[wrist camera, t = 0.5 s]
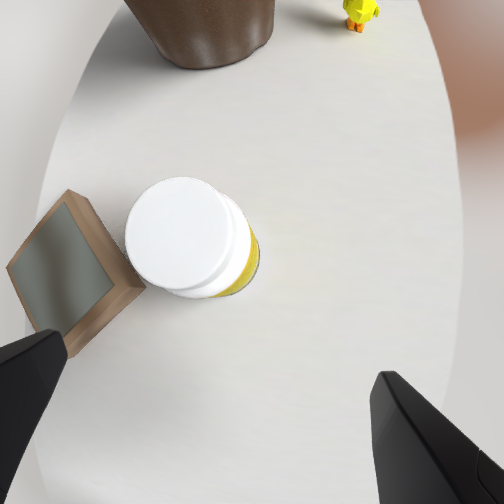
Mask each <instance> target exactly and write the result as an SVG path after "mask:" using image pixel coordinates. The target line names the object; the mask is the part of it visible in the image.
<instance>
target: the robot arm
mask: <svg viewBox="0 0 504 504" xmlns="http://www.w3.org/2000/svg"><path fill="white" fill-rule="evenodd" d="M67 359H68V351H67V348H66V346H65V343H64V340H63V337H62V334H61V333H60V332H59V331H58V330H54V329H51V328H48V329H45V330H43V331H40V332H38V333H35V334H33V335H30V336H28V337H25V338H23V339H20V340H18V341H15V342H13V343H10V344H8V345H5V346H3V347H0V504H4V502H5V499H6V497H7V493H8V490H9V488H10V485H11V483H12V480H13V478H14V476H15V473H16V471H17V468H18V466H19V464H20V461H21V458H22V456H23V454H24V452H25V450H26V447H27V446H28V443H29V441H30V439H31V437H32V435H33V433H34V431H35V429H36V427H37V424H38V422H39V420H40V418H41V416H42V414H43V412H44V410H45V409H46V407H47V405H48V403H49V401H50V399H51V397H52V394H53V392H54V390H55V387H56V385H57V382H58V380H59V377H60V375H61V373H62V370H63V368H64V366H65V364H66V361H67ZM370 412H371V430H372V449H373V457H374V464H375V470H376V477H377V485H378V493H379V501H380V504H504V470H503V469H502V468H501V467H500V466H499V465H497V464H496V463H495V462H494V461H493V460H492V459H490V458H489V457H488V456H487V455H486V454H485V453H484V452H483V451H482V450H479V447H477V446H476V445H475V444H474V443H473V442H472V441H471V440H470V439H469V438H468V437H467V436H466V435H464V434H463V433H462V432H461V431H460V430H459V429H458V428H457V427H456V426H455V425H454V424H453V423H451V422H450V421H449V420H448V419H447V418H446V417H445V416H444V415H443V414H442V413H441V412H439V411H438V410H437V409H436V408H435V407H434V406H433V405H432V404H431V403H430V402H429V401H427V400H426V399H425V398H424V397H423V396H422V395H421V394H420V393H419V392H418V391H417V390H415V389H414V388H413V387H412V386H411V385H410V384H409V383H408V382H407V381H406V380H404V379H403V378H402V377H401V376H400V375H399V374H398V373H397V372H395V371H381V372H380V373H379V374H378V376H377V378H376V381H375V384H374V386H373V389H372V391H371V394H370Z"/></svg>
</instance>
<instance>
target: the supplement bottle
mask: <svg viewBox="0 0 504 504" xmlns="http://www.w3.org/2000/svg"><path fill="white" fill-rule="evenodd" d="M125 245H126V250H127V254H128V257H129V259H130V261H131V263H132V265H133V267H134V268H135V269H136V271H137V272H138V273H139V274H140V275H141V276H142V277H143V278H144V279H146V280H147V281H148V282H150V283H152V284H154V285H156V286H158V287H161V288H163V289H164V290H166V291H168V292H170V293H172V294H174V295H176V296H179V297H184V298H191V299H203V298H211V297H223V296H229V295H232V294H235V293H237V292H239V291H241V290H242V289H244V288H245V287H246V286H247V285H248V284H249V283H250V282H251V281H252V279H253V278H254V276H255V274H256V272H257V269H258V266H259V260H260V250H259V245H258V242H257V240H256V238H255V236H254V234H253V232H252V229H251V227H250V225H249V223H248V221H247V219H246V217H245V215H244V214H243V212H242V211H241V209H240V208H239V207H238V206H237V204H236V203H235V202H233V201H232V200H231V199H230V198H229V197H227V196H226V195H224V194H222V193H220V192H218V191H216V190H215V189H214V188H213V187H211V186H210V185H209V184H207V183H205V182H203V181H201V180H198V179H195V178H191V177H173V178H168V179H165V180H162V181H160V182H158V183H156V184H154V185H153V186H151V187H150V188H148V189H147V190H146V191H145V192H144V193H143V194H142V195H141V196H140V197H139V198H138V199H137V201H136V202H135V204H134V205H133V207H132V209H131V211H130V213H129V216H128V219H127V223H126V228H125Z"/></svg>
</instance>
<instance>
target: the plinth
mask: <svg viewBox="0 0 504 504" xmlns="http://www.w3.org/2000/svg"><path fill="white" fill-rule="evenodd" d="M6 269H7V271H8V274H9V276H10V278H11V281H12V283H13V286H14V288H15V290H16V293H17V295H18V297H19V299H20V301H21V303H22V305H23V308H24V310H25V312H26V314H27V316H28V318H29V320H30V322H31V324H32V326H33V328H34V329H35V331H36V333H38V332H40V331H43V330H45V329H48V328H51V329H54V330H58V331H59V332H60V333H61V334H62V337H63V340H64V343H65V346H66V348H67V351H68V358H71V357H74V356H75V355H76V354H77V353H78V352H79V351H80V350H81V349H82V348H83V347H84V346H85V345H86V344H87V343H88V342H89V341H90V340H91V339H92V338H94V337H95V336H96V335H97V334H98V333H99V332H100V331H101V330H102V329H103V328H104V327H105V326H106V325H107V324H108V323H109V322H110V321H111V320H112V319H113V318H114V317H115V316H116V315H118V314H119V313H120V312H121V311H122V310H123V309H124V308H125V307H126V306H127V305H128V304H129V303H130V302H131V301H132V300H134V299H135V298H136V297H137V296H138V295H139V294H140V293H141V292H142V291H143V290H144V289H145V288H146V287H145V285H144V284H143V283H142V281H141V280H140V278H139V277H138V276H137V274H136V273H135V271H134V270H133V268H132V267H131V266H130V264H129V263H128V261H127V260H126V258H125V257H124V255H123V254H122V252H121V251H120V249H119V248H118V246H117V245H116V243H115V242H114V240H113V239H112V237H111V236H110V234H109V233H108V231H107V230H106V228H105V226H104V225H103V223H102V222H101V220H100V219H99V217H98V215H97V214H96V212H95V210H94V209H93V207H92V205H91V204H90V202H89V201H88V199H87V198H85V197H83V196H81V195H79V194H77V193H75V192H73V191H71V190H69V189H67V191H66V192H65V193H64V194H63V195H62V196H61V197H60V198H59V200H58V201H57V202H56V203H55V204H54V205H53V206H52V208H51V209H50V210H49V211H48V212H47V214H46V215H45V216H44V217H43V218H42V220H41V221H40V222H39V223H38V225H37V226H36V227H35V228H34V230H33V231H32V232H31V234H30V235H29V236H28V238H27V239H26V240H25V241H24V243H23V244H22V245H21V247H20V248H19V250H18V251H17V252H16V254H15V255H14V257H13V258H12V259H11V261H10V262H9V264H8V265H7V267H6Z"/></svg>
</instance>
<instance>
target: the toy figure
mask: <svg viewBox="0 0 504 504" xmlns="http://www.w3.org/2000/svg"><path fill="white" fill-rule="evenodd" d="M343 9H344V10H345V11H346V12H347V14H348V15H349V17H348V18H347V26H348V29H349V30H354V26H355V23H356V29H357V32H360V33H362V31H363V28H364V23H365V22H367V21H369V20H371V19H372V17H373V16H374V15H375V16H376V17H378V15H379V11H380V7H377V4H376V3H375V1H374V0H344V1H343Z"/></svg>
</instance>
